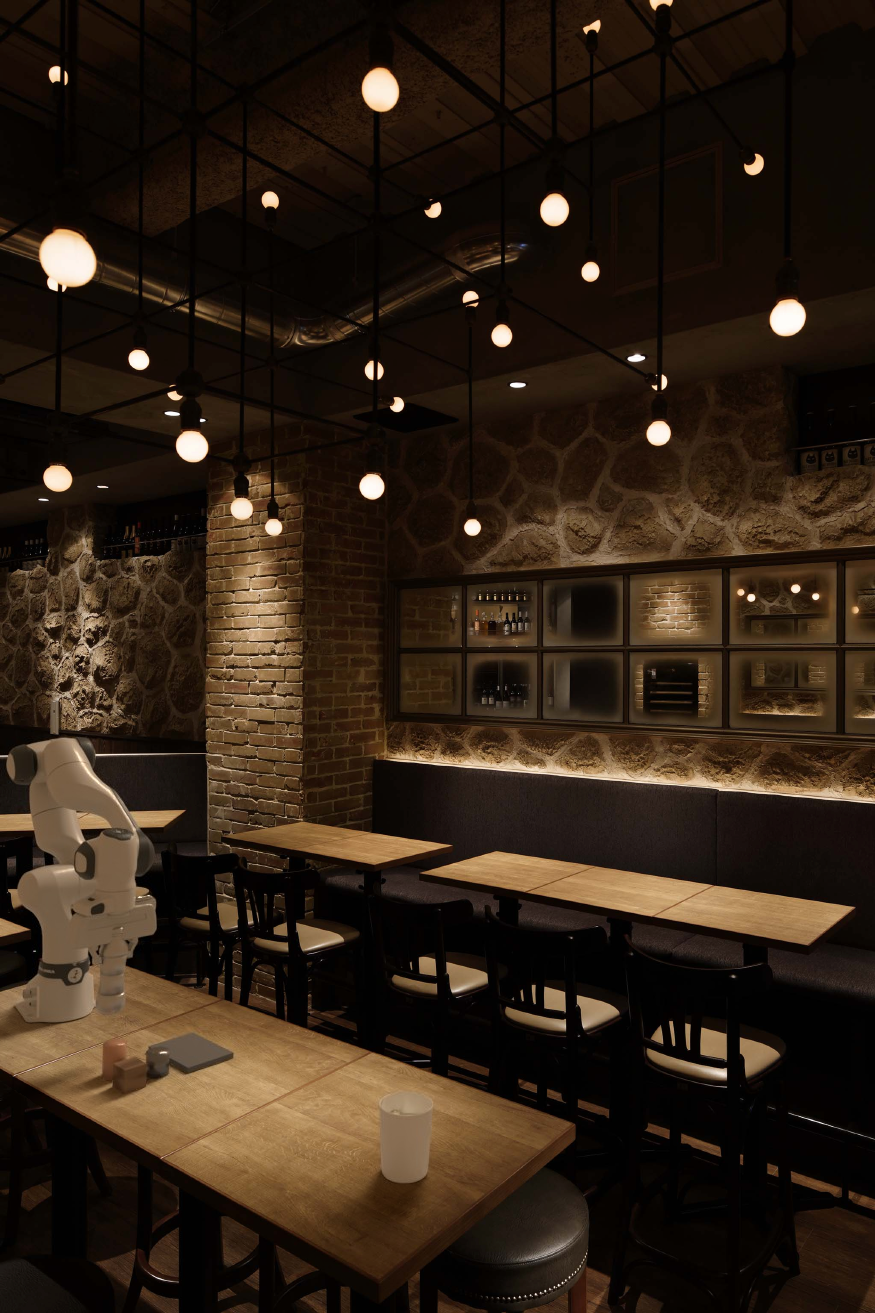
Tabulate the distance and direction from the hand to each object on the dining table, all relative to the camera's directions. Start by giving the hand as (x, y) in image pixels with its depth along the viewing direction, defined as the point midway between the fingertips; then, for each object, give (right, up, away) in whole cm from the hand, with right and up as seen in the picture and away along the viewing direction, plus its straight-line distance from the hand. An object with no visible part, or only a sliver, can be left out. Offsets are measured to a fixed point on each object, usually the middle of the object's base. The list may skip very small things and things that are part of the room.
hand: (112, 961), depth 204 cm
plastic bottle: (-1, -12, 0) cm, 12 cm away
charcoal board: (+17, -23, +3) cm, 29 cm away
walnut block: (+9, -22, -14) cm, 28 cm away
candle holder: (+69, -23, -45) cm, 85 cm away
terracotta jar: (+4, -22, -9) cm, 24 cm away
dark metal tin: (+13, -23, -8) cm, 27 cm away
